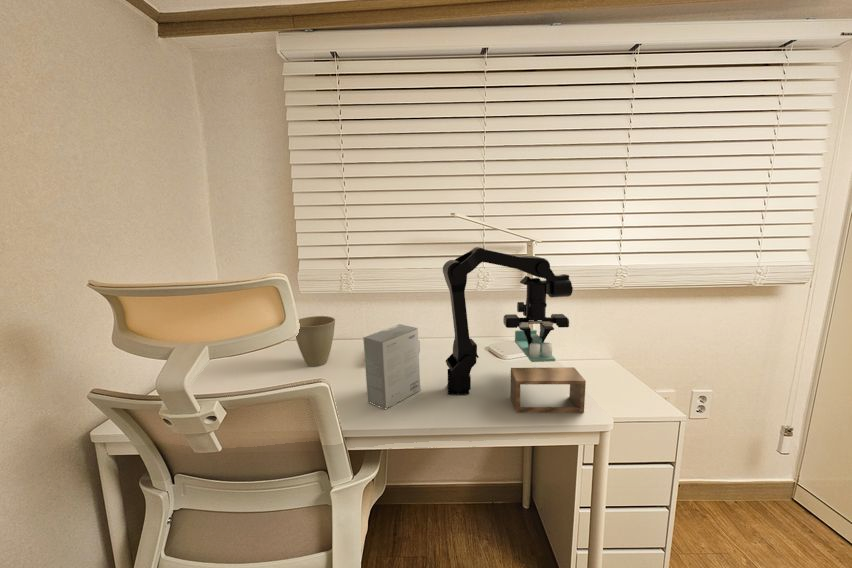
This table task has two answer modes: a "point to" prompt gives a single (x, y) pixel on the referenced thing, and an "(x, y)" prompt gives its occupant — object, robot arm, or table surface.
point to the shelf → (548, 377)
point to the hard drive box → (392, 365)
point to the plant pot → (315, 339)
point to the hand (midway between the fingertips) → (534, 347)
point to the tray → (534, 347)
